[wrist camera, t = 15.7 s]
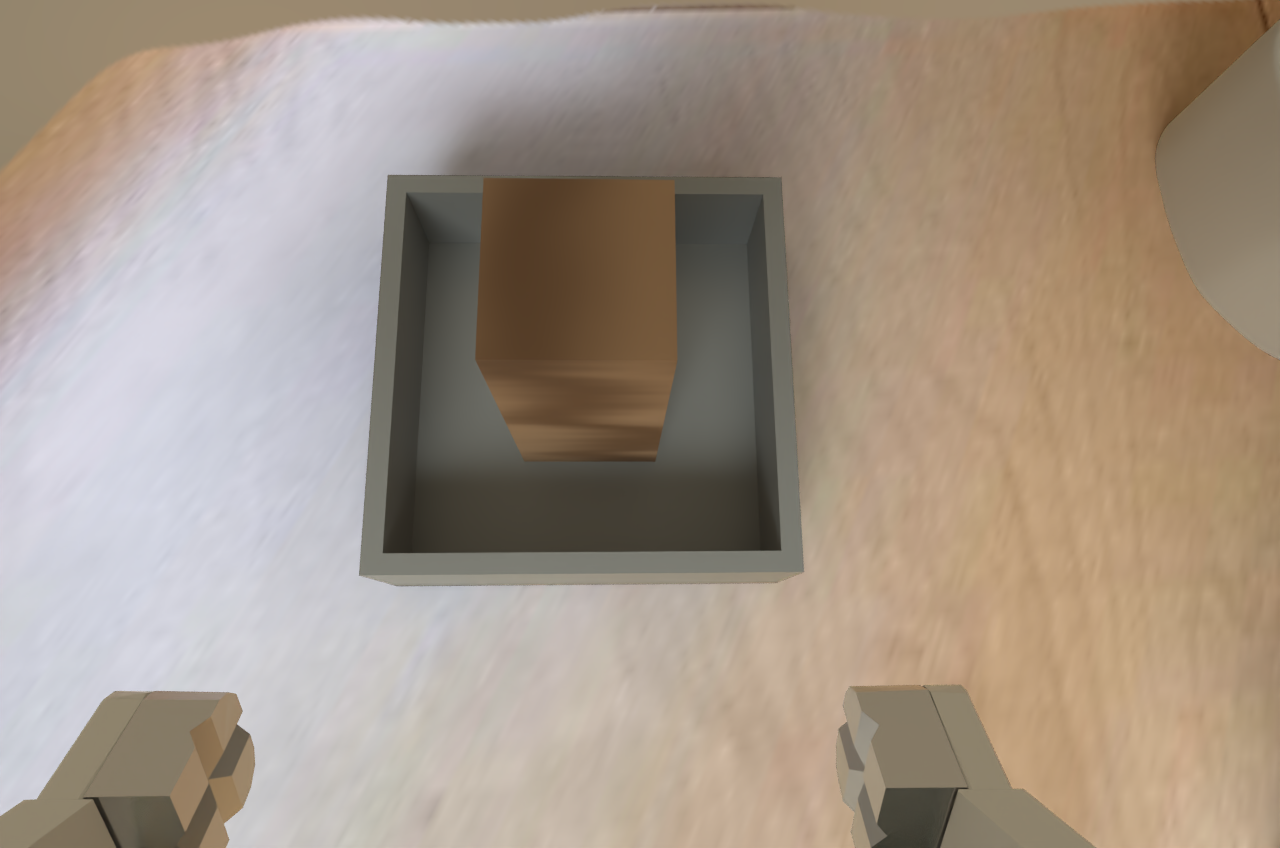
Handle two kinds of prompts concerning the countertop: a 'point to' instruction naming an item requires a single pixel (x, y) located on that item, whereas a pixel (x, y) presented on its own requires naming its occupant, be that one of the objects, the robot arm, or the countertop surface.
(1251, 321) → the lumpy-topped squat cylinder
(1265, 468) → the countertop surface
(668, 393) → the wooden block
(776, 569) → the box
